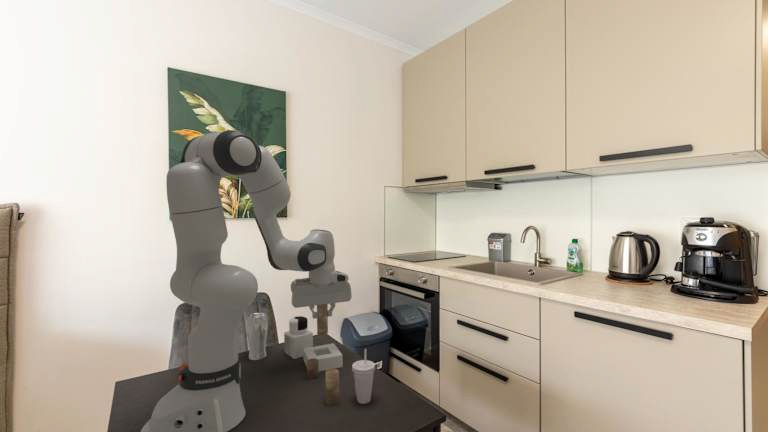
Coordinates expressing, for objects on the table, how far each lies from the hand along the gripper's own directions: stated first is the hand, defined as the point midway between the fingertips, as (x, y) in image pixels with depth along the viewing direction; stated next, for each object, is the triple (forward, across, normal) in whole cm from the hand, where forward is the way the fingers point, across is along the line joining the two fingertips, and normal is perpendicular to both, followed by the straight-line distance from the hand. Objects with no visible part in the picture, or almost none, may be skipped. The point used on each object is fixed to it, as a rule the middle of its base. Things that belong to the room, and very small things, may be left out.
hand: (322, 316), depth 114 cm
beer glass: (+16, -20, +15) cm, 30 cm away
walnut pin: (+16, -5, -8) cm, 19 cm away
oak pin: (+16, -3, -24) cm, 29 cm away
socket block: (+16, 0, 0) cm, 16 cm away
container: (+16, -6, +12) cm, 21 cm away
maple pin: (+6, 0, 0) cm, 6 cm away
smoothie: (+16, +5, -27) cm, 32 cm away
